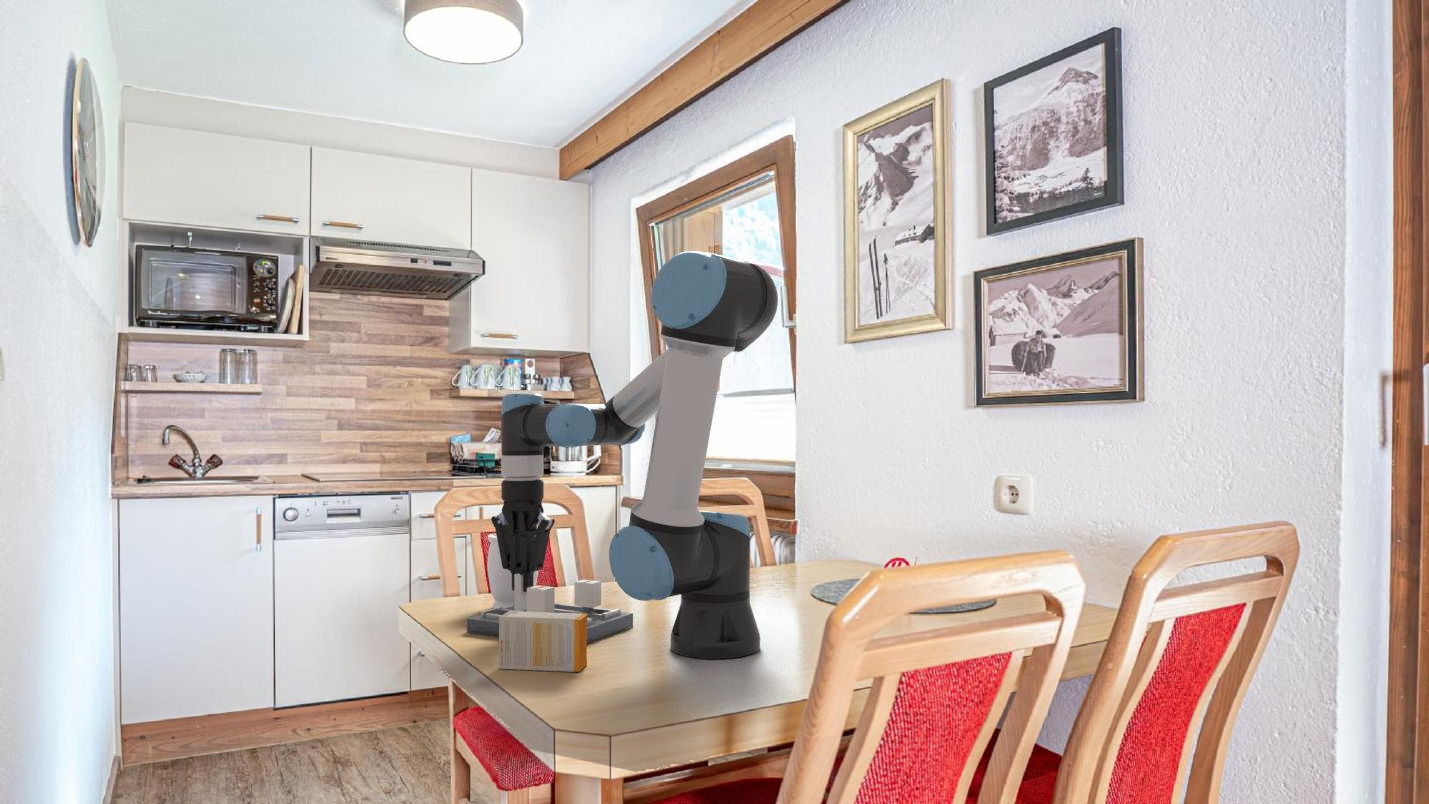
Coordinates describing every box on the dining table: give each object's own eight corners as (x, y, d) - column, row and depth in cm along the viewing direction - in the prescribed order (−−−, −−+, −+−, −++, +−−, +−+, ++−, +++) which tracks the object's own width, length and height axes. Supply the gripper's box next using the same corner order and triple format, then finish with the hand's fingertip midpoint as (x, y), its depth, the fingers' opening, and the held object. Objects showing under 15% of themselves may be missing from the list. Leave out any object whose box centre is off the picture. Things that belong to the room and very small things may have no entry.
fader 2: (601, 611, 173) (601, 580, 173) (592, 614, 170) (592, 583, 170) (583, 609, 175) (583, 578, 175) (574, 612, 172) (574, 581, 172)
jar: (485, 604, 194) (485, 532, 194) (535, 601, 197) (536, 530, 197) (488, 614, 184) (489, 538, 184) (541, 611, 187) (542, 536, 187)
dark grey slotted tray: (633, 626, 173) (633, 607, 173) (574, 647, 157) (574, 627, 157) (530, 614, 184) (530, 596, 185) (466, 632, 169) (467, 613, 169)
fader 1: (554, 618, 167) (554, 586, 167) (544, 621, 164) (544, 589, 164) (536, 616, 169) (536, 584, 169) (526, 619, 166) (526, 587, 166)
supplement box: (588, 612, 147) (509, 609, 149) (579, 619, 142) (497, 615, 144) (588, 665, 147) (508, 661, 149) (579, 674, 142) (497, 669, 144)
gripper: (564, 478, 169) (564, 609, 169) (508, 476, 175) (508, 602, 175) (538, 480, 162) (538, 616, 162) (480, 478, 169) (480, 610, 168)
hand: (522, 609), depth 168 cm, fingers closed
